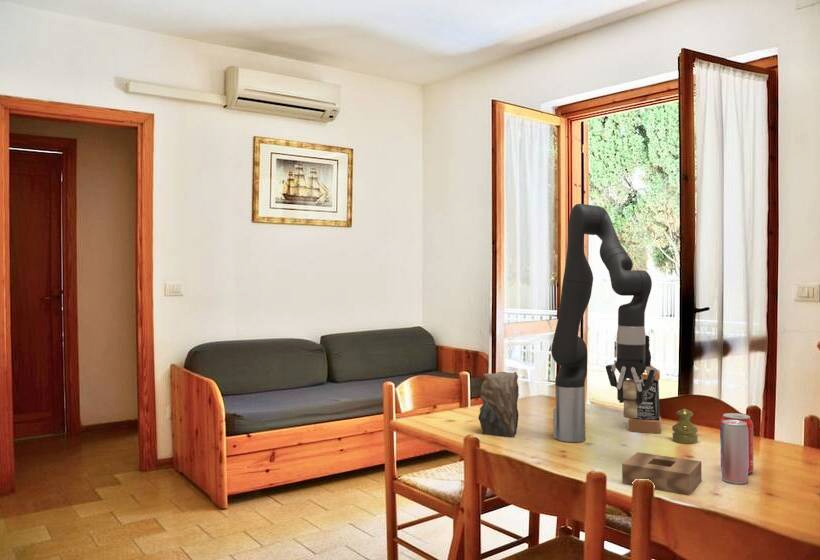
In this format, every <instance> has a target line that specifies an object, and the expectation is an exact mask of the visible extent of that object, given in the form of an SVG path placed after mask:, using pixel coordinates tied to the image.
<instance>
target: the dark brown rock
mask: <svg viewBox="0 0 820 560" xmlns="http://www.w3.org/2000/svg"><path fill="white" fill-rule="evenodd" d="M482 375H483V378H484V379H483V380H482V384H481V385H480V390H479V394H480V397H479V398H480V399H481V401H482V406H481V407H479V413H478V420H479V423H480V424H479V425H480V427H481V431H482V435H485V436H492V437H493V436H495V437H503V438H513V439H514V438H515V436H516V434H517V431H518V426H519V425H518V424H519V415H520V414H519V409H518V400H519V399H518V398H519V395H520V393H519V388H520V387H519V384H518V378H519V377H518V376H519V375H518V374H517V372H516V371H515V372H508V371H507V372H506V371H498V372H496V373H487V372H486V373H483V374H482Z"/></svg>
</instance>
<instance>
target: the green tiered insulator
mask: <svg viewBox="0 0 820 560" xmlns="http://www.w3.org/2000/svg"><path fill="white" fill-rule="evenodd" d="M675 414H676V415H677V416H678V417H679V420H678V421H677V423H675V424H673V425H672V428H671V429H672V431H673V432H672V434H671V435H672V440H673V442H676V443H679V444H684V445H685V444H687V445H688V444H690V445H692V444H696V443H698V442H699V441H698V440H699V439H698V438H699V437H698V436H699V435H698V434H697V433H698V431H699V429H698V427H697V426H696V425H694V424H693V422H691V418H692V417H693V416H694V413H693V412H692V411H690V410H688V409H687V408H681V410H678V411H676V413H675Z"/></svg>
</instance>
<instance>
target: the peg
mask: <svg viewBox="0 0 820 560" xmlns="http://www.w3.org/2000/svg"><path fill="white" fill-rule="evenodd" d="M637 391H638V389H637V386H636V384H635V381H634V380H629V379H627V380H624V381H623V398H622V399H623V400H624V402H623V417H624V418H627V419H629V418H637Z"/></svg>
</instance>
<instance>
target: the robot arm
mask: <svg viewBox="0 0 820 560" xmlns="http://www.w3.org/2000/svg"><path fill="white" fill-rule="evenodd" d="M567 230H568V233H567V250H566V258H565V263H564V264H565V266H564V272H563V279H562V284H561V293H560V300H559V306H558V307H559V308H558V317H557V323H556V327H555V330H554V334H553V339H552V343H551V350H550V351H551V357H552V359H553V360H554V362H555V363H556V364H557V365H559V370H558V373H557V375H556V376H555V378H554V379H555V381H554V383H555V384H554V385H555V389H554V390H555V392H554V393H555V408H554V409H553V410H552V412H553V413H552V414H553V415H552V416H553V417H552V418H553V424H552V425H553V431H552V432H553V439H554V440H557V441H559V442H560V441H561V442H565V443H579V442H584V441H585V440H586V390H585V389H586V388H585V387H586V379H587V374H588V347H587V344H586V342H585V341H584V339H583V338H582V337H580V336H579V330H580V329H579V328H580V325H581V322H582V319H583V316H584V314H585V312H586V310H587V308H588V306H589V303H590V300H591V297H592V290H593V286H594V285H593V282H594V276H593V275H594V274H593V270H592V269H591V266H590V263H589V261H588V259H587V257H586V254H585V250H584V235H588V236H589V235H591V236H597V237H598V238H599V239H600V240H601V244H600V246H599V256H600V259H601V261H602V263H603V264H604V265H605V267H606V269H607V271H608V274H609V278H610V279H609V280H610V284H611V285H610V286H611V289H612V291H613V292H614V293H615V294H617V295H619V296H628V297H629V296H631V297H632V299H631V300H630V302H627V303H625V304H621V305H620V306H619V307H618V310H617V311H618V312H617V332H616V362H615V363H614V364H608V365H606V366H605V370H606V374H607V376H608V381H609V384H610V386H611V387H613V388H616V390H617V394H616V395H617V396H616V397H617V401H618V402H619V403H620V404H624V400H623V399H622V398H623V381H624V380H628V379H629V378H631V379H634V381H635V384H636V386H637V389H638V391H637V405H641V404H642V403H643V402H644V391H645V390H648V389H650V388H651V387H652V384H653V381H654V378H655V375H656V372H657V370H658V369H657V368H656V369H657V370H656V369H652V368H649V367H647V365H646V363H645V335H646V328H645V325H646V324H645V321H646V320H645V319H646V316H645V315H646V309H647V304H648V300H649V298H650V295H651V291H652V287H653V286H652V285H653V284H652V283H653V280H652V278H651V274H650V273H648V272H647V271H646V270H642V269H641V270H638V269H636V270H632V269H633V267H634V263H633V260H632V258H631V257H630V255H629V254H628V252H627V251H626V250H625V248H624V246H623V245H622V244H621V242H620V240H619V238H618V235H617V232H616V229H615V227H614V224H613V222H612V220H611V217H610V214H609V212H607V209H605V208H604V207H603V206H600V205H599V206H598V205H593V204H585V203H576V204H575V205H573V206H572V208H571V211H570V214H569V218H568V229H567ZM616 370H617V371H618V373H619V375H618V380H617V376H616V373H615V372H616ZM645 370H646V372H647V375H648V378H647V381H646V384H645V386H644V384H643V378H642V374H643V373H644V371H645Z"/></svg>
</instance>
